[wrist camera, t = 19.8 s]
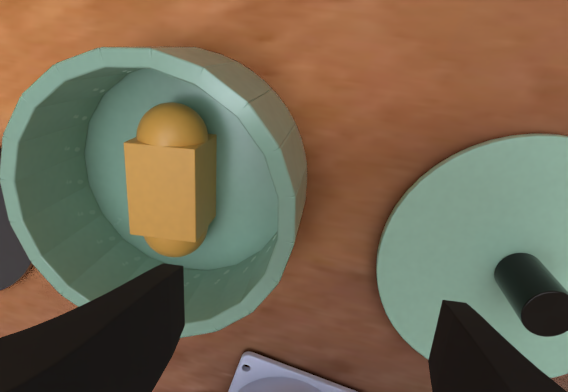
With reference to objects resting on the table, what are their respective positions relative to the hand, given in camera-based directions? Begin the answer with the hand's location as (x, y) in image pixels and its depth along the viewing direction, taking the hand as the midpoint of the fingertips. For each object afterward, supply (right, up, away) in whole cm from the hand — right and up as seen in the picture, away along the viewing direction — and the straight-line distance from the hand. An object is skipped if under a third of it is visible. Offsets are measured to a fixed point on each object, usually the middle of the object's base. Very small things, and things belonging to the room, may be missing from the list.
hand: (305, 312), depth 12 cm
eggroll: (-6, +4, +10) cm, 12 cm away
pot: (-6, +5, +10) cm, 13 cm away
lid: (+11, 0, +9) cm, 14 cm away
